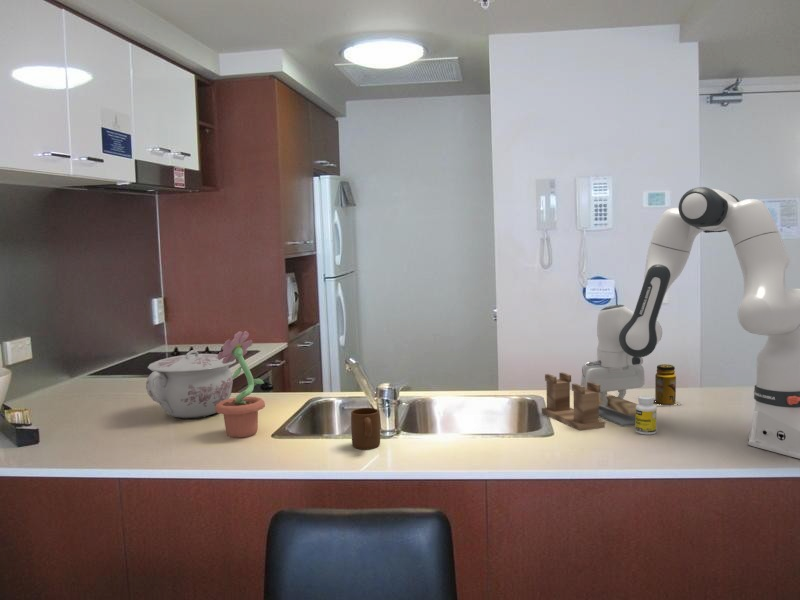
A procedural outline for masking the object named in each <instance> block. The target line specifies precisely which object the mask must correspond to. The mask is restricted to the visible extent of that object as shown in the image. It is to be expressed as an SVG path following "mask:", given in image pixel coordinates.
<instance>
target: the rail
mask: <svg viewBox="0 0 800 600" xmlns="http://www.w3.org/2000/svg"><path fill="white" fill-rule="evenodd" d="M605 396H606V398H607V399H608V400H610V406H605V407H607V408H610V409H613V410H615V411H618V412H621V413H623V414H626V415H628V416H631V415H636V405H637V404H638V403H635V402H632V401H629V400H627V399H624V398H623V399H621V398H618V396H616V395H612V394H609V393H607V395H605ZM599 404H600V405H602V406H603V400H602V398H601V397H600V395H599Z"/></svg>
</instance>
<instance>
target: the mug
mask: <svg viewBox="0 0 800 600" xmlns="http://www.w3.org/2000/svg"><path fill="white" fill-rule="evenodd" d="M380 418H381V417H380V411H379V409H377V408H373V407H361V408H355V409H353V410H351V413H350V425H351V426H350V427H351V428H350V429H351V430H350V431H351V444H352V447H353V448H355V449H357V450H372V449H375V448H378V447H379V446H380V445H381V423H380V421H381V420H380Z"/></svg>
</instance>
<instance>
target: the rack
mask: <svg viewBox="0 0 800 600" xmlns="http://www.w3.org/2000/svg"><path fill="white" fill-rule="evenodd" d="M558 375H559V376H558V377H559V378H557V376H555V375H552V374H550V373H545V374H544V381H545V383H546V407H541V414H543V413H544V414H543V415H545V414H546V415H545V416H547V415H548V417H549V418H552V419H554V420H556V421H558V422H561V423H563V424H565V425H567V426H569V427H571V428H574V429H576V430H577V431H587V430H592V429H599V428H605V424H606V423H605V421H604V420H601V419H600V417H599V392H600V385H598V384H595V383H592V382H587V389H585V387H584V386H581V384H578V383H571V382H572V375H571V374H568V373H565V372H562V371H561V372H559V374H558ZM570 383H571V384H570ZM570 390H571V391H572V393H573V394H572V395H573V408H572V407H571V391H570Z"/></svg>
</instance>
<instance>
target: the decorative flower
mask: <svg viewBox="0 0 800 600" xmlns="http://www.w3.org/2000/svg"><path fill="white" fill-rule="evenodd" d="M249 335H250V334H249V332H248V331H246V330H245V331H244V332H243V331H238V332H236V333H235V334H234V335H233V339H232V340H231V339H227V340H225V342H224V344H223V345H222V348H221V349H222V351H219V353H218V359H219V360H220V359H222V358H223V361H222V363H223V364H225V363H229V362H233V361H234V360H235V359H236V360H237V362H238V364H239V365H240V366H239V367H238V368H237V369H236V370H235V371H234V373H232V379H235V378H237V377H238V376H239V375H240V374H241V372H242V371H243V374H244V375H245V377H246V381H247V388H246V389H245V390H242V391H241V392H240V393H239V394H237V395H236V397H232V398H231V397H230V398H229V399H226V400H223V401H220V402H219V403H217V404H216V407H215V412H217V413H216V414H221V415H223V420H224V427H225V433H226V436H228V437H230V438H234V439H235V438H238V439H240V438H247V437H252V436H254V435H255V434H256V433H257V432H258V429H259V428H258V427H259V414H258V412H259V411H260V410H263V409H264V408H265V407H266V402H265V401H264V399H262V398H261V397H256V396H249V395H251V394H252V393H253V391H254V387H255V384H257V385H262V384H265V382H264V380H263V379H261V378H254V376H253V375H252V374H253V373H252V372H251V370H250V367H249V366H248V364H247V362H246V360H245V358H244V356H245V355H246V354H247V353H248V350H247V349H248V348H250V347H252V345H253V340H252V339H249V340H247V339H248V338H249ZM246 340H247V341H246ZM224 357H225V358H224Z"/></svg>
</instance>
